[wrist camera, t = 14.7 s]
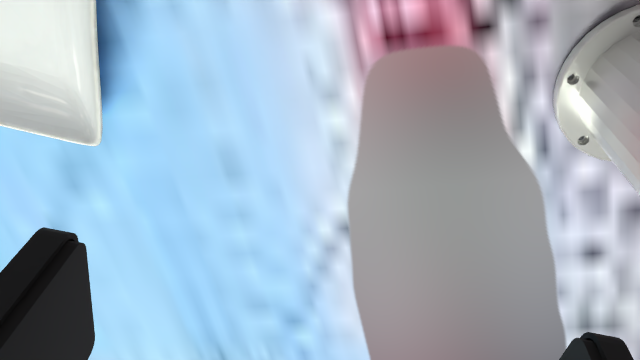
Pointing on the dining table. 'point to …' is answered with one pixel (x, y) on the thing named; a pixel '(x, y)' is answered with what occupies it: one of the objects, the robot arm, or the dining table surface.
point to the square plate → (51, 69)
